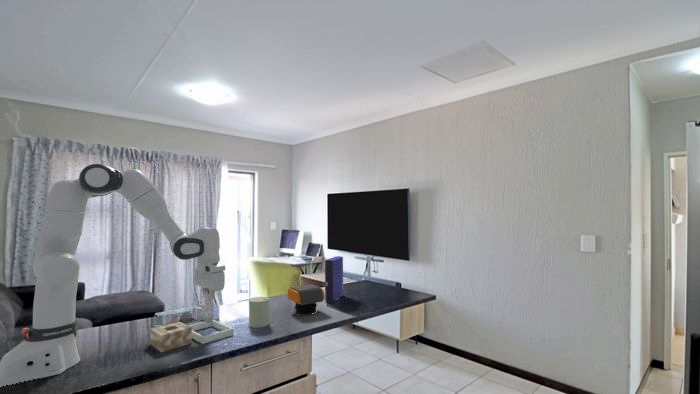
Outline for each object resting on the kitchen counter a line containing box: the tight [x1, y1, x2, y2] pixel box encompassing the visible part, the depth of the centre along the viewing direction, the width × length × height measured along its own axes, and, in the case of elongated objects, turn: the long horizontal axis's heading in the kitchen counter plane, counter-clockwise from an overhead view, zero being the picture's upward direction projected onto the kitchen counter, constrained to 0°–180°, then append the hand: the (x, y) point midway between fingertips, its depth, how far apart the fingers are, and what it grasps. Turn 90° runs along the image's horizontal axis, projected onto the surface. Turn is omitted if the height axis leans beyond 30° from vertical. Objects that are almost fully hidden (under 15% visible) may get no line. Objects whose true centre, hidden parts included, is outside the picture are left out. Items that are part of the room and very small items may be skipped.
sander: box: [287, 283, 325, 316], centre depth 180 cm, size 15×25×13 cm, turn 34°
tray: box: [188, 320, 234, 345], centre depth 142 cm, size 13×18×4 cm
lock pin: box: [203, 288, 214, 323], centre depth 143 cm, size 3×3×14 cm
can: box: [248, 296, 270, 329], centre depth 157 cm, size 9×9×12 cm
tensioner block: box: [149, 321, 193, 353], centre depth 132 cm, size 11×11×7 cm
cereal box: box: [324, 255, 344, 303], centre depth 202 cm, size 17×5×24 cm, turn 161°
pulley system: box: [153, 311, 220, 328], centre depth 160 cm, size 27×5×15 cm
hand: (208, 298), depth 143 cm, fingers closed on lock pin, 3 cm apart
